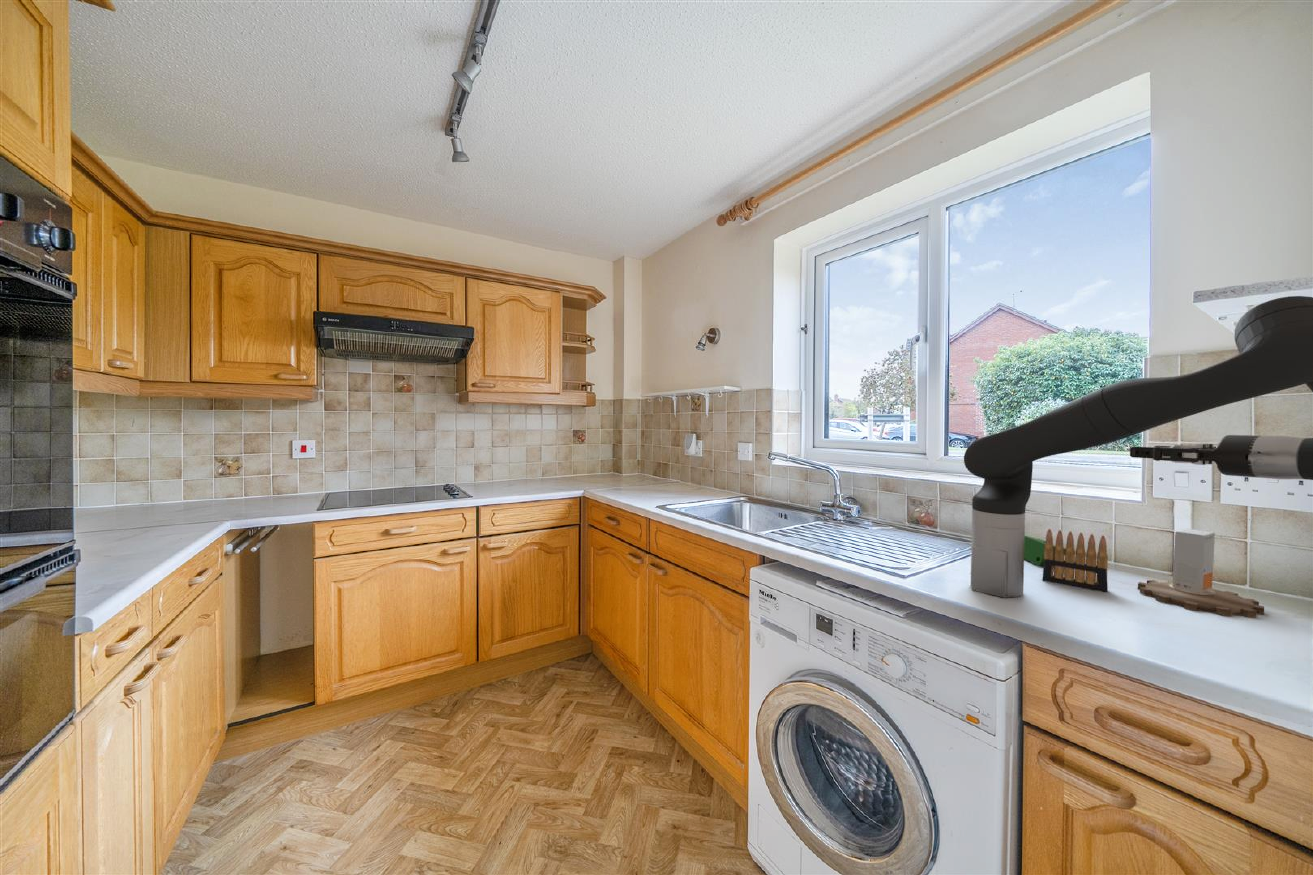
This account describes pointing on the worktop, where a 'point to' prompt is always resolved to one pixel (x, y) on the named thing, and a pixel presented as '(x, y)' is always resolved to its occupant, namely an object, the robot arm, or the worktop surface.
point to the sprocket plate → (1202, 599)
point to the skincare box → (1193, 560)
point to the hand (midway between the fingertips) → (1142, 451)
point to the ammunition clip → (1076, 562)
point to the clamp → (1035, 550)
